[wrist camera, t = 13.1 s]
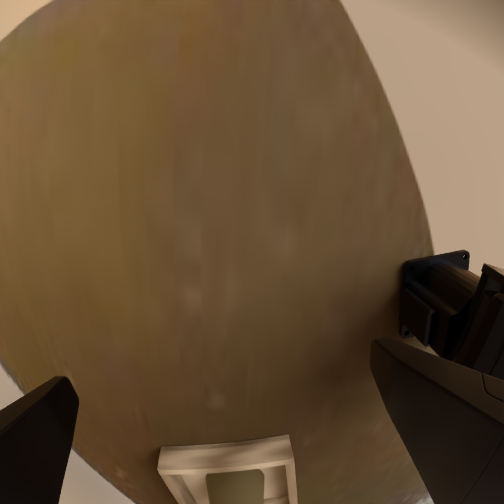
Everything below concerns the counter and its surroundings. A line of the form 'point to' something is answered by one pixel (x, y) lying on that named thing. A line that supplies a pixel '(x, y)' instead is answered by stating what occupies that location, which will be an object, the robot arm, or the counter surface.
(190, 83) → the counter surface
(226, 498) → the olive pepper mill
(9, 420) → the robot arm
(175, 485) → the birch tray
